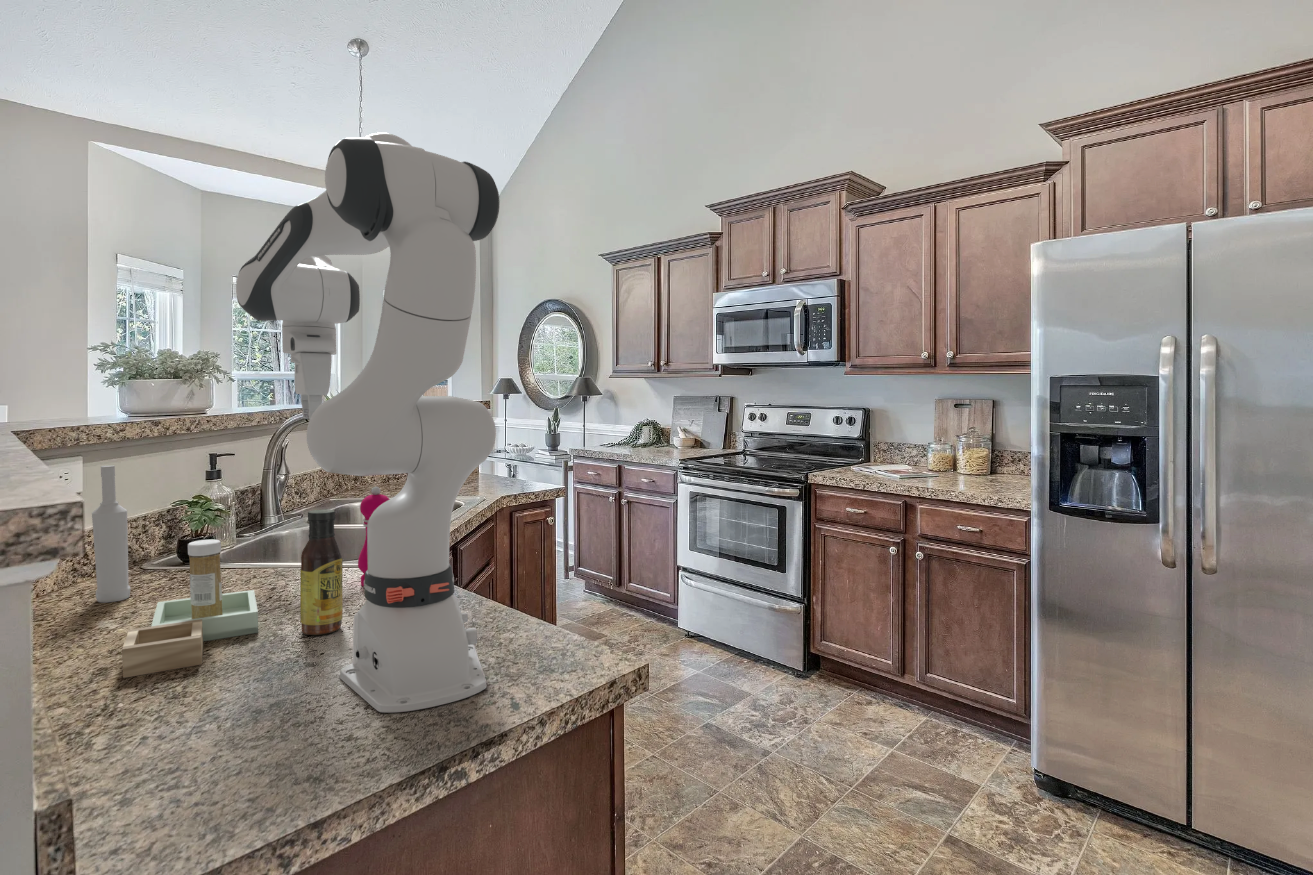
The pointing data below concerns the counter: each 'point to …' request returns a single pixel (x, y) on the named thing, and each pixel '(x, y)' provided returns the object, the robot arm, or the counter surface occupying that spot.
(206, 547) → the sprinkles bottle
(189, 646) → the maple holder
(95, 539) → the bottle
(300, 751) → the counter surface
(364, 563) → the pepper mill
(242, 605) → the sage tray
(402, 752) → the counter surface
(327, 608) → the sauce bottle
